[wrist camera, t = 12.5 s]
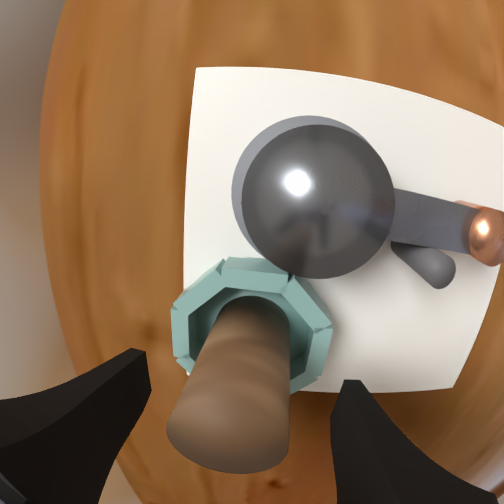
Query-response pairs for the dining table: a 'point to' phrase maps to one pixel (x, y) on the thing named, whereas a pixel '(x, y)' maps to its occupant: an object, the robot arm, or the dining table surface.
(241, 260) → the socket
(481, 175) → the board
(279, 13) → the dining table surface
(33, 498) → the robot arm
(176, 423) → the pin
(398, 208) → the grey ball-ended lever
